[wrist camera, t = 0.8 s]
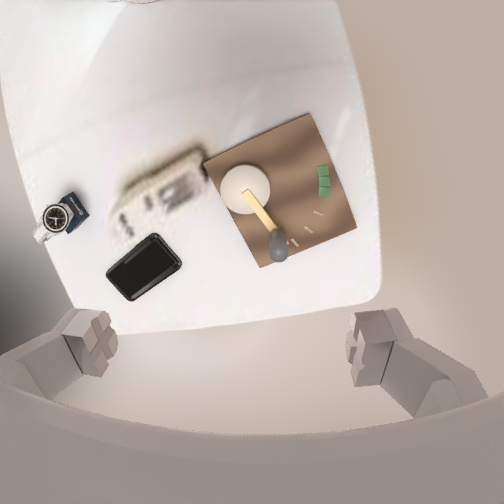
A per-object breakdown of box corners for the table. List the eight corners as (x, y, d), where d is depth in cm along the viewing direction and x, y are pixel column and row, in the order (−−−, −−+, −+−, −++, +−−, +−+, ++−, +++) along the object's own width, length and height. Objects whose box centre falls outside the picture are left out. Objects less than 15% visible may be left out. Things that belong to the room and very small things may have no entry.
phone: (183, 266, 51) (130, 303, 55) (185, 263, 52) (132, 300, 56) (153, 231, 48) (103, 274, 53) (155, 229, 49) (105, 271, 54)
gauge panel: (205, 162, 44) (202, 163, 42) (308, 113, 40) (310, 113, 38) (260, 263, 51) (259, 268, 49) (354, 224, 47) (357, 228, 45)
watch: (95, 209, 48) (61, 233, 38) (72, 232, 50) (39, 258, 40) (78, 185, 46) (41, 204, 36) (56, 210, 48) (20, 232, 38)
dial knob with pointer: (212, 182, 43) (200, 198, 36) (250, 154, 41) (247, 164, 34) (266, 251, 48) (265, 278, 40) (303, 227, 46) (310, 251, 38)
